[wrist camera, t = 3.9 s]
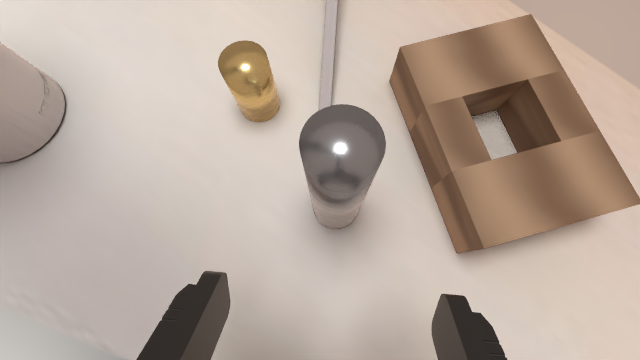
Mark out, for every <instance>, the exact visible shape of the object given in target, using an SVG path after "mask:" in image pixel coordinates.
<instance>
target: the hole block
mask: <svg viewBox="0 0 640 360" xmlns="http://www.w3.org/2000/svg"><path fill="white" fill-rule="evenodd" d="M390 84H391V86H392V89H393V91H394V94H395V96H396V99H397V102H398V104H399V107H400V109H401V112H402V114H403V117H404V120H405V122H406V125H407V127H408V130H409V132H410V135H411V137H412V140H413V143H414V145H415V148H416V150H417V153H418V155H419V158H420V161H421V163H422V166H423V168H424V171H425V173H426V176H427V178H428V181H429V184H430V186H431V189H432V191H433V194H434V196H435V199H436V202H437V204H438V207H439V209H440V212H441V214H442V217H443V219H444V222H445V225H446V227H447V230H448V232H449V235H450V237H451V240H452V243H453V245H454V248H455V250H456V253H460V252H466V251H472V250H479V249H485V248H488V247H492V246H495V245H499V244H502V243H506V242H509V241H513V240H516V239H520V238H523V237H527V236H530V235H534V234H537V233H541V232H544V231H548V230H551V229H555V228H558V227H561V226H565V225H568V224H572V223H575V222H579V221H582V220H586V219H589V218H593V217H596V216H600V215H603V214H607V213H610V212H614V211H617V210H621V209H624V208H628V207H631V206H635V205H638V204H640V198H639V196H638V195H637V193H636V191H635V190H634V188H633V186H632V184H631V183H630V181H629V179H628V178H627V176H626V174H625V173H624V171H623V169H622V167H621V166H620V164H619V162H618V161H617V159H616V157H615V156H614V154H613V152H612V151H611V149H610V147H609V145H608V144H607V142H606V140H605V139H604V137H603V135H602V134H601V132H600V130H599V128H598V127H597V125H596V123H595V122H594V120H593V118H592V117H591V115H590V113H589V111H588V110H587V108H586V106H585V105H584V103H583V101H582V100H581V98H580V96H579V94H578V93H577V91H576V89H575V88H574V86H573V84H572V83H571V81H570V79H569V77H568V76H567V74H566V72H565V71H564V69H563V67H562V66H561V64H560V62H559V60H558V59H557V57H556V55H555V54H554V52H553V50H552V49H551V47H550V45H549V43H548V42H547V40H546V38H545V37H544V35H543V33H542V32H541V30H540V28H539V27H538V25H537V23H536V21H535V20H534V18H533V16H532V15H531V14H530V15H526V16H522V17H518V18H514V19H510V20H506V21H502V22H498V23H494V24H490V25H486V26H482V27H478V28H474V29H470V30H466V31H462V32H458V33H454V34H450V35H446V36H442V37H438V38H434V39H430V40H426V41H422V42H418V43H414V44H410V45H406V46H402V47H400V49H399V52H398V55H397V59H396V62H395V65H394V68H393V71H392V75H391V78H390ZM493 110H497V111H498V113H499V115H500V117H501V119H502V121H503V123H504V125H505V127H506V129H507V131H508V133H509V135H510V137H511V139H512V141H513V143H514V145H515V148H516V150H517V152H518V153H516V154H512V155H509V156H505V157H501V158H498V159H494V160H491V158H490V156H489V154H488V151H487V149H486V147H485V145H484V143H483V141H482V138H481V136H480V134H479V132H478V130H477V128H476V125H475V123H474V121H473V119H472V117H471V116H474V115H478V114H482V113H486V112H490V111H493Z"/></svg>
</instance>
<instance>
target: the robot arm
mask: <svg viewBox="0 0 640 360" xmlns="http://www.w3.org/2000/svg"><path fill="white" fill-rule="evenodd" d="M64 109H65V100H64V94H63V92H62V90H61V88H60V86H59V85H58V84H57V83H56V82H55V81H54V80H53V79H51V78H50V77H48V76H47V75H46V74H44V73H43V72H41V71H40V70H38V69H37V68H36V67H34V66H33V65H31V64H30V63H28V62H27V61H26V60H24V59H23V58H21V57H20V56H19V55H17V54H16V53H14V52H13V51H12V50H10V49H9V48H8V47H6V46H5V45H3V44H2V43H0V163H2V162H10V161H14V160H19V159H21V158H23V157H26V156H28V155H30V154H32V153H33V152H35V151H36V150H38V149H39V148H41V147H42V146H43V145H44V144H45V143H46V142H47V141H48V140H49V139H50V138H51V137H52V136H53V134H54V133H55V132H56V130H57V128H58V127H59V125H60V123H61V121H62V118H63V114H64ZM229 309H230V295H229V288H228V281H227V275H226V273H223V272H213V271H205V272H204V273H203V274H202V276H201V278H200V279H199V281H198V283H197V285H193V284H188V285H187V286H186V287H185V288H183V289H182V290H181V291H180V292H179V293H178V294H177V295H176V296H175V298H174V299H173V301H172V303H171V304H170V306H169V309H168V310H167V311H166V312H165V314H164V316H163V317H162V321H160V322H159V324H158V326H157V327H156V329H155V330H154V332H153V334H152V335H151V337H150V339H149V340H148V342H147V343H146V345H145V347H144V348H143V350H142V352H141V353H140V355H139V357H138V358H137V360H210V359H211V357H212V354H213V352H214V349H215V347H216V344H217V342H218V339H219V337H220V334H221V332H222V329H223V327H224V324H225V322H226V319H227V317H228V314H229ZM432 337H433V342H434V346H435V350H436V354H437V358H438V360H507V358H505V353H504V351H503V349H502V347H501V345H499V340H498V338H497V336H496V334H495V331H494V329H493V327H492V326H491V325H490V323H489V322H488V321H487V320H486V319H485V318H484V317H483V315H482V314H481V313H475V312H472V311H471V308H470V306H469V303H468V301H467V299H466V297H465V296H460V295H450V294H442V295H441V296H440V299H439V302H438V305H437V308H436V311H435V314H434V317H433V321H432Z"/></svg>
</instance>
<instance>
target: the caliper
mask: <svg viewBox="0 0 640 360" xmlns="http://www.w3.org/2000/svg"><path fill="white" fill-rule="evenodd" d="M337 8H338V0H327V2H326V16H325V30H324V45H323V59H322V73H321V88H320V102H319V110H321V109H323V108H325V107H329V106H331V100H332V84H333V69H334V54H335V38H336V23H337Z"/></svg>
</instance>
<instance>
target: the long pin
mask: <svg viewBox="0 0 640 360" xmlns="http://www.w3.org/2000/svg"><path fill="white" fill-rule="evenodd" d="M385 148H386V142H385V136H384V132H383V130H382V128H381V126H380V124H379V123H378V121H377V120H376V119H375V118H374V117H373V116H372V115H371V114H369V113H368V112H367V111H365V110H363V109H361V108H359V107H356V106H352V105H343V104H340V105H332V106H329V107H325V108H323V109H321V110H319V111H318V112H316V113H315V114H314V115H312V116H311V117H310V118H309V119H308V121H307V122H306V123H305V125H304V127H303V129H302V131H301V134H300V140H299V149H300V154H301V158H302V162H303V166H304V171H305V175H306V179H307V183H308V187H309V192H310V196H311V200H312V204H313V208H314V213H315V215H316V217H317V219H318V220H319V222H320V223H321V224H323V225H324V226H326V227H328V228H332V229H340V228H344V227H346V226H348V225H349V224H350V223H352V222H353V220H354V219H355V217H356V215H357V213H358V211H359V209H360V206H361V204H362V202H363V200H364V198H365V196H366V194H367V191H368V189H369V187H370V185H371V183H372V181H373V179H374V176H375V174H376V172H377V170H378V168H379V166H380V164H381V161H382V159H383V157H384V153H385Z"/></svg>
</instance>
